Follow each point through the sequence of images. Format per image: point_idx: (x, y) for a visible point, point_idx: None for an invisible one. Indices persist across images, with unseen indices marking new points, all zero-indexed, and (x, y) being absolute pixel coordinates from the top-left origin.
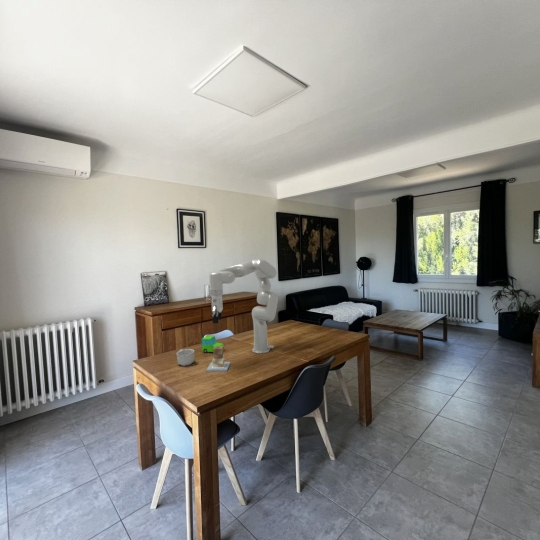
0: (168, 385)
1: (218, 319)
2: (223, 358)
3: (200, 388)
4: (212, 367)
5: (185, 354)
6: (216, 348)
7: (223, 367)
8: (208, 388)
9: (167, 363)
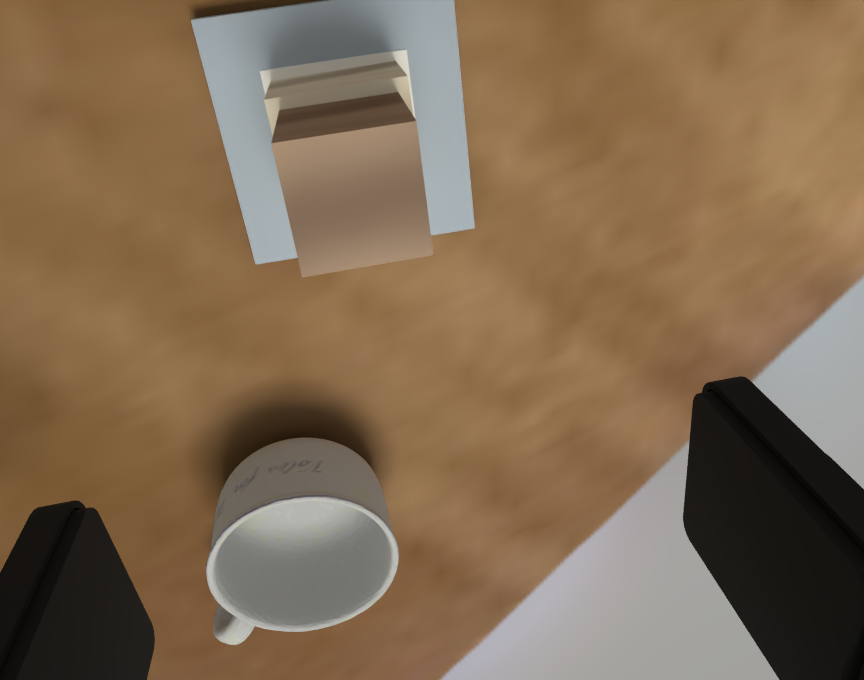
0: None
1: (118, 582)
2: (339, 83)
3: (831, 125)
4: None
5: (236, 563)
6: (410, 210)
7: (401, 50)
8: (846, 47)
9: None
